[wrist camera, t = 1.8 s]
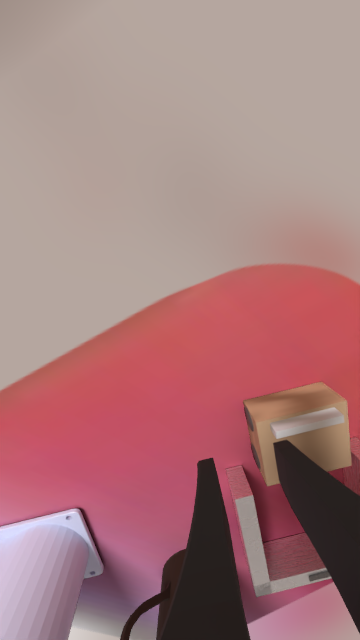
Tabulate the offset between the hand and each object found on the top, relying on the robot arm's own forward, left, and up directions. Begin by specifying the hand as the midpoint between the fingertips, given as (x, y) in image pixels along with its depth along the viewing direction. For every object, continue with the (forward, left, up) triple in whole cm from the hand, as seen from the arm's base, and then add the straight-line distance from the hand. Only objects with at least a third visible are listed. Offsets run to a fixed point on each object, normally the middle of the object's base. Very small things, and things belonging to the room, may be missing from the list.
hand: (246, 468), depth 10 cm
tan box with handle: (+6, -6, -10) cm, 13 cm away
